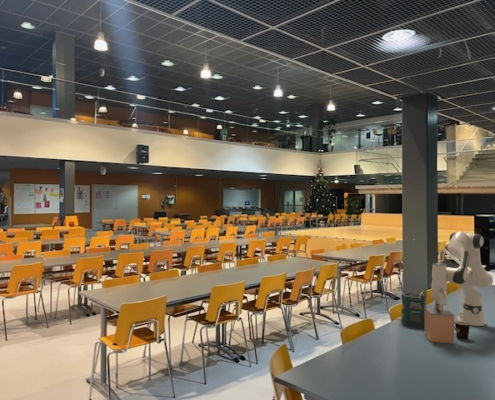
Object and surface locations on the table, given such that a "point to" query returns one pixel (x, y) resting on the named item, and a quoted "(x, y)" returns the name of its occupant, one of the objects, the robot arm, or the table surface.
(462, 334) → the coffee mug
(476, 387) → the table surface
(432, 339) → the brown block
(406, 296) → the donation box
